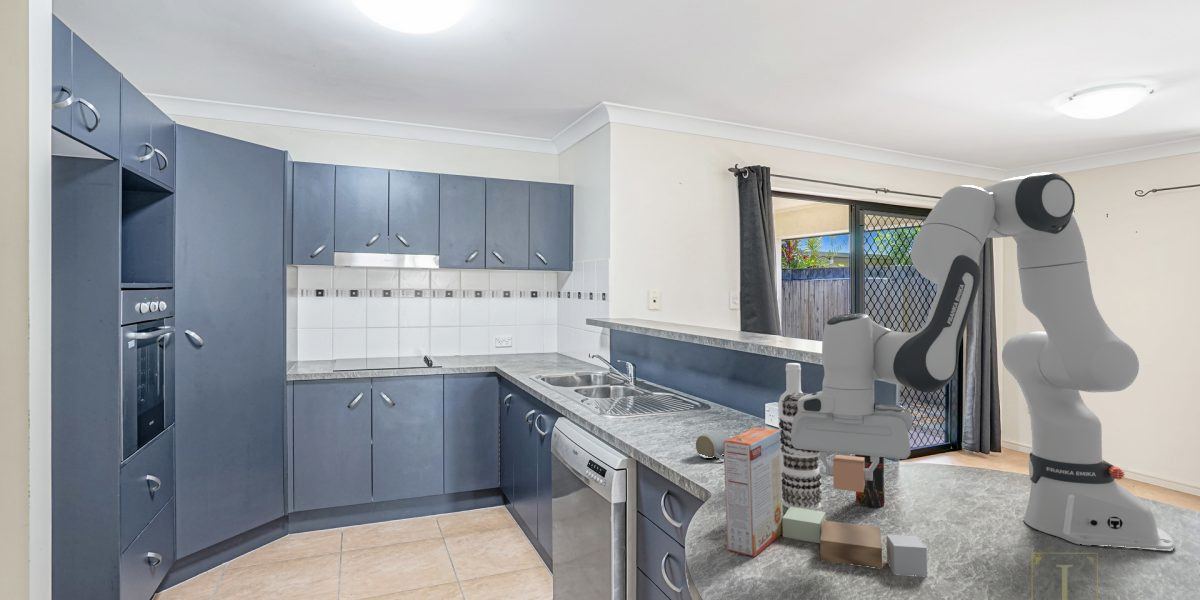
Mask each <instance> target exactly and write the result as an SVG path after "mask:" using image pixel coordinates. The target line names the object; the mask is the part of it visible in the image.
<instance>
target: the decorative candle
mask: <svg viewBox="0 0 1200 600" xmlns="http://www.w3.org/2000/svg"><path fill="white" fill-rule="evenodd" d="M807 394H808V393H805V392H803V393H790V394H787V395H786V396H785V398H784V399H783V400H781V401H782V404H783V405H782V407H783V413H782V420H781V419H780V423H779V422H778V427H779V426H780V428H782V430H781V431H780V435H781V438H780V441H781V444H783V445H782V447H781V452H782V454H783V459H784V464H783V472H782V473H781V475H782V477H783V479H782V506H784V507H785V508H788V509H789V508H790V507H795V508H802V509H808V510H815V511H818V510H820V509H821V507H822V504H821V501H822V500H823V499H822V497H821V494H822V490H821V488H820V487H821V486H822V483H821V481H820V480H821V479H822V476H821V473H820V466H819V451H814V450H804V449H796V448H794V447H793V445H792V444H791V429H792V422H793V418H794V416H795V415H796V413H797V412H798V411H799V410H798V407H797V402H798V400H799V398H801V397H802V396H804V395H807Z"/></svg>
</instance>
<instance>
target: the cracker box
mask: <svg viewBox="0 0 1200 600" xmlns="http://www.w3.org/2000/svg"><path fill="white" fill-rule="evenodd" d="M723 457H724V464H723V465H724V468H723V469H724V490H725V491H724V492H725V519H726V521H725V522H726V548H727V549H726V550H727V551H729V552H733V553H737V554H741V555H744V556H748V555H749V557H752V556H753V557H754V558H755V557H756V556H757V555H759V554H760V553H761V552H762V551H763V550H765V548H767V547H768V546H769V545H771V544H772V543H773V542H774V541H775V540H777V539H778V538H780V536H781V535H783V524H782V518H783V516H784V512H783V511H784V510H783V509H784V508H783V503H782V500H783V498H782V493H783V492H782V486H783V483H782V477H781V446H780V430H779V429H773V428H771V429H770V428H765V427H758V426H757V427H756V426H755V427H753V428H750V429H748V430H746V431H744V432H741V433H739V434H737V435H735V436H732V437H729V439H727V440H725V441H724V456H723Z"/></svg>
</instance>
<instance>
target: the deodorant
mask: <svg viewBox="0 0 1200 600" xmlns="http://www.w3.org/2000/svg"><path fill="white" fill-rule="evenodd" d="M854 456H855V457H865V468H869V467H870V466H871V464H872V463H873V462H871V461H870V456H866V455H856V454H854ZM884 464H885V457H879V463H878V465H877V466H876V468H875V469H874V471H873V481H871V480H865V486H864V492H856V491H855V502H856V504H857V505H859V506H862V507H864V508H865V507H866V508H874V509H876V508H877V509H878V508H879V509H880V508H883V507H885V465H884Z"/></svg>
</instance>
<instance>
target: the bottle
mask: <svg viewBox="0 0 1200 600" xmlns="http://www.w3.org/2000/svg"><path fill="white" fill-rule="evenodd" d="M801 371H802V367H801V364H800V363H798V362H787V363H785V382H786V383H785V387H786V388H785V389H786V390H785V391H784V392H783V393H781V395H780V397H779V401H778V405H777V408H778V409H777V410H778V411H777V412H778V415H777V416H778V424H779V423H780V419H781V420H782V413H783V407H782V405H783V404H782V401H781V400H783V399H784V398H785V396H786V395H787V394H790V393H804V392H803V391H802V383H801V382H802V379H801V378H802V376H801V375H802V373H801ZM778 430H780V431H781V430H782V428H780V426H779V425H778ZM780 438H781V435H780ZM782 445H783V444H781V441H780V446H781V447H782ZM783 464H784V459H783V454H782V452H781V473H782V472H783ZM781 477H782V475H781ZM782 479H783V477H782Z"/></svg>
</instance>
